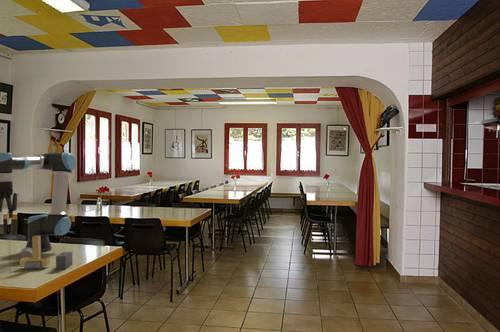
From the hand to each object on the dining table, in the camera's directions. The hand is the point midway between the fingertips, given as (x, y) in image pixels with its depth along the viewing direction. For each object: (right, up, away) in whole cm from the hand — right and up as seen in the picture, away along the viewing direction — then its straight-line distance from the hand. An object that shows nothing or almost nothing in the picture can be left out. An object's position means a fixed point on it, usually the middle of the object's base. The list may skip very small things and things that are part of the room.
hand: (5, 224), depth 211 cm
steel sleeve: (+15, -24, +2) cm, 29 cm away
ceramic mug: (+3, -25, +17) cm, 30 cm away
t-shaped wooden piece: (+15, -23, +2) cm, 28 cm away
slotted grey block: (+31, -24, +3) cm, 39 cm away
